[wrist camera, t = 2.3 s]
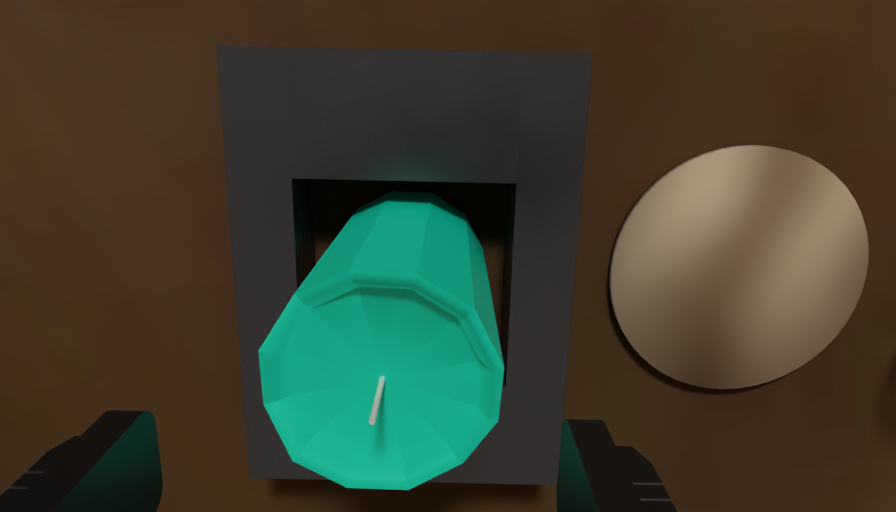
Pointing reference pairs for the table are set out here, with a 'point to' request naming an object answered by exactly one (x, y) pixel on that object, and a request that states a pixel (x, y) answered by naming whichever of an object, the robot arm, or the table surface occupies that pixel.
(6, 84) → the table surface
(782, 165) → the cork coaster
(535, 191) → the grey rectangular frame
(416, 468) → the candle
